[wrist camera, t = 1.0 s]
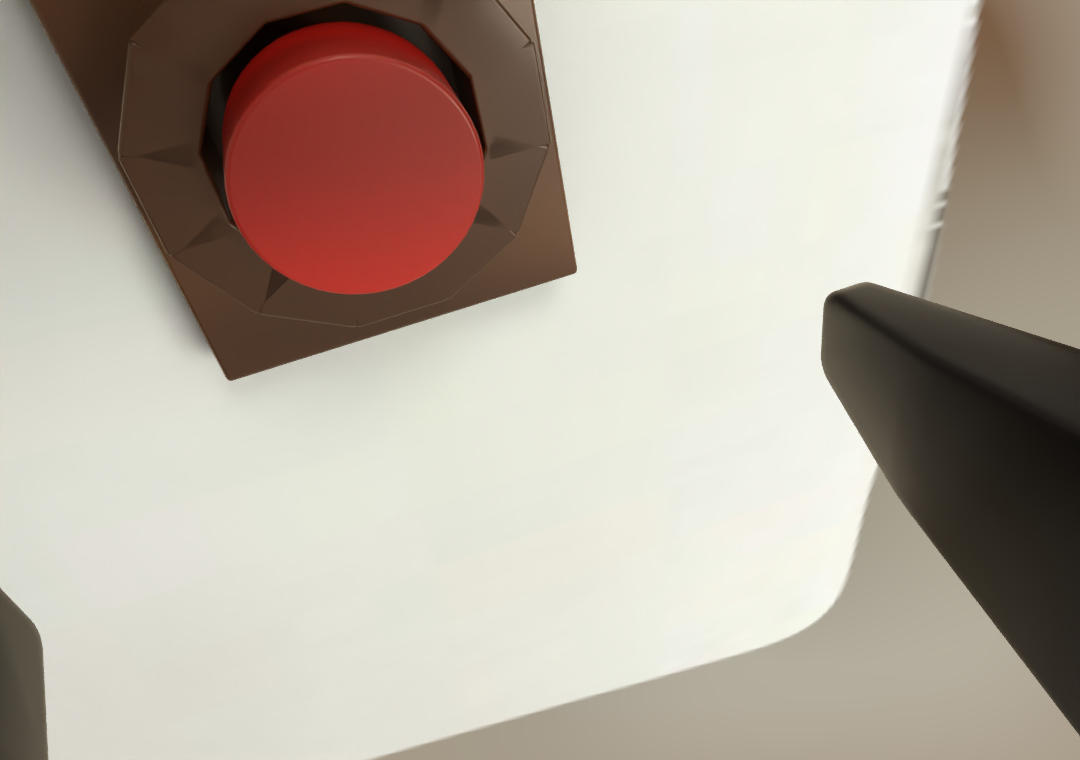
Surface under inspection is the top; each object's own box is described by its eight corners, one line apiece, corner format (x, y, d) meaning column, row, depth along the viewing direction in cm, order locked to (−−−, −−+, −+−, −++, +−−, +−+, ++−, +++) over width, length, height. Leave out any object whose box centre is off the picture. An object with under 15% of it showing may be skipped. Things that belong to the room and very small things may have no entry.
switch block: (562, 248, 21) (606, 316, 18) (226, 351, 20) (229, 437, 17) (473, -273, 14) (523, -267, 12) (-33, -158, 13) (-82, -127, 11)
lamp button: (481, 211, 16) (506, 256, 15) (273, 274, 16) (280, 325, 15) (430, -9, 14) (454, 22, 13) (180, 57, 13) (177, 97, 12)
